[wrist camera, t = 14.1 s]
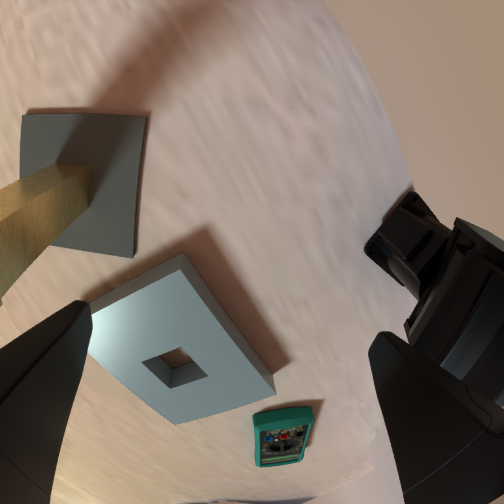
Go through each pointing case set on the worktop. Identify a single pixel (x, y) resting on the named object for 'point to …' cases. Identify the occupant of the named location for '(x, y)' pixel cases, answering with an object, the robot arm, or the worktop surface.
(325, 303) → the worktop surface
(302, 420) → the digital multimeter
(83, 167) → the brass key
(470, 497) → the robot arm
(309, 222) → the worktop surface
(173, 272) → the block
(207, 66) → the worktop surface
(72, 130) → the rubber mat
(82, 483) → the worktop surface
